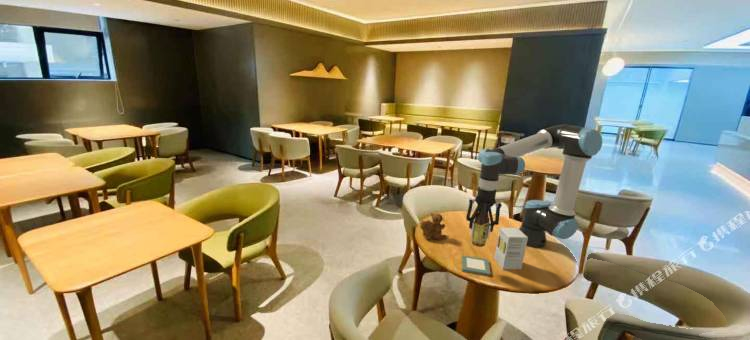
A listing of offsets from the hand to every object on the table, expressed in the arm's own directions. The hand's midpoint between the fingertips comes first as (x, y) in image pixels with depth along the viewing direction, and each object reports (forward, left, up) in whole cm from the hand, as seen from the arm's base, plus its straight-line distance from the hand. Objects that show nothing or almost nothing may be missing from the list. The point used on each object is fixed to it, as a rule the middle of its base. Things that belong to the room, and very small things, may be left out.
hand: (479, 236), depth 139 cm
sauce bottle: (0, 0, -4) cm, 4 cm away
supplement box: (-15, -7, -16) cm, 23 cm away
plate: (0, 0, -16) cm, 16 cm away
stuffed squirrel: (+21, -22, -16) cm, 35 cm away
